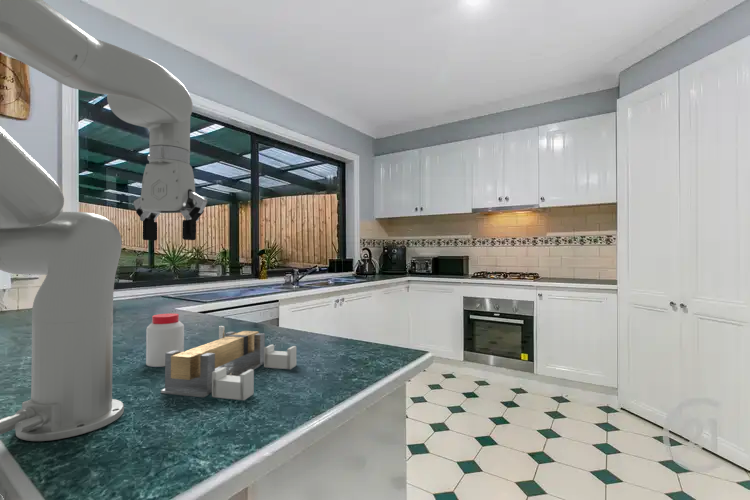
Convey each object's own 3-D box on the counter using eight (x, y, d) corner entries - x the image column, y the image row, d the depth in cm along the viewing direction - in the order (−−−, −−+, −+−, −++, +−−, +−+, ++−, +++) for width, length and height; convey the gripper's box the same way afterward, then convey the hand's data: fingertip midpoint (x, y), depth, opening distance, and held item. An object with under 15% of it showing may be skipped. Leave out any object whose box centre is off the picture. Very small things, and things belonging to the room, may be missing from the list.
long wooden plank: (190, 380, 66) (190, 357, 66) (170, 378, 67) (170, 355, 67) (258, 348, 89) (258, 331, 89) (243, 347, 90) (243, 330, 90)
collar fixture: (203, 397, 66) (204, 346, 66) (160, 393, 68) (161, 343, 68) (266, 362, 88) (267, 324, 88) (232, 360, 90) (232, 322, 90)
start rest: (244, 400, 65) (244, 374, 65) (211, 396, 66) (212, 372, 66) (296, 365, 85) (296, 346, 86) (270, 363, 87) (270, 344, 87)
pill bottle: (154, 369, 83) (155, 319, 83) (140, 362, 87) (140, 315, 88) (189, 361, 89) (190, 314, 89) (174, 355, 94) (174, 311, 94)
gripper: (120, 156, 77) (119, 239, 77) (193, 151, 73) (192, 239, 73) (150, 165, 85) (149, 241, 84) (217, 161, 81) (216, 240, 81)
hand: (169, 240), depth 79 cm, fingers open, 9 cm apart
